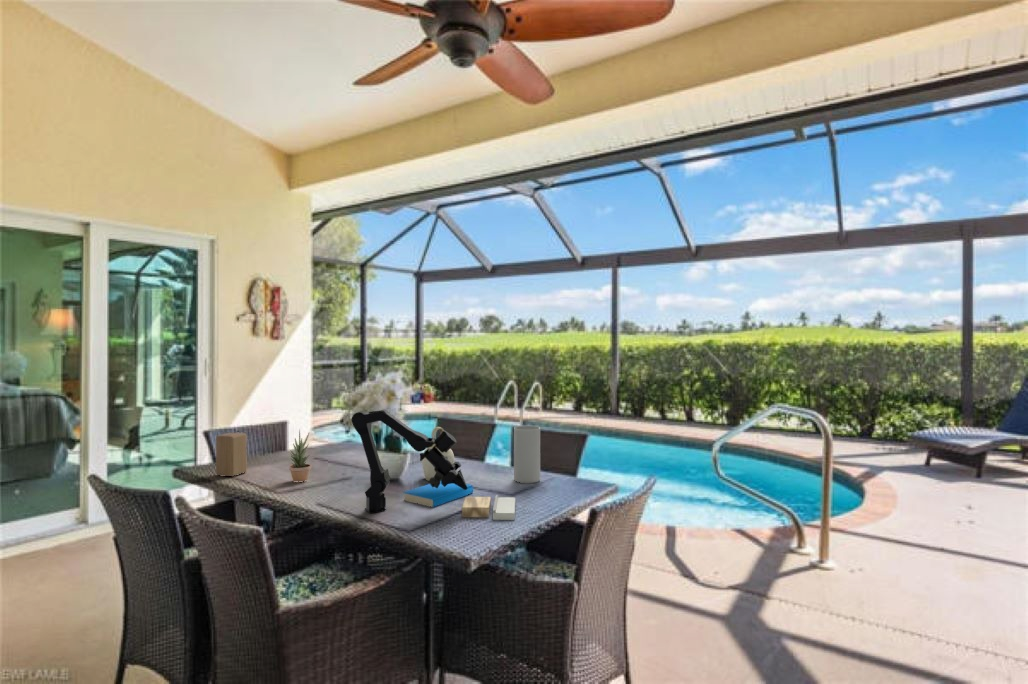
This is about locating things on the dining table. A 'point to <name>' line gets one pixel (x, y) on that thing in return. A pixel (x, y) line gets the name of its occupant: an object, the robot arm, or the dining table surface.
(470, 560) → the dining table surface
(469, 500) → the oak plank
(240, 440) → the wooden block
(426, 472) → the jug
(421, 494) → the book
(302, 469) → the potted plant
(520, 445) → the cylinder vase
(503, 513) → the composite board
